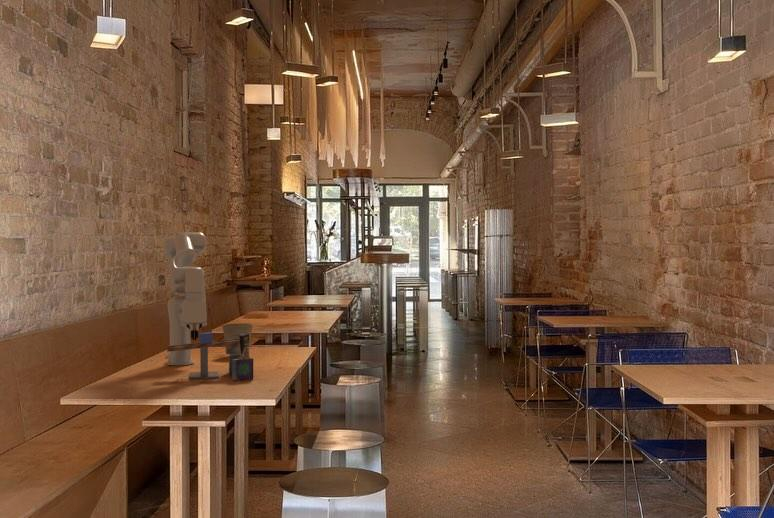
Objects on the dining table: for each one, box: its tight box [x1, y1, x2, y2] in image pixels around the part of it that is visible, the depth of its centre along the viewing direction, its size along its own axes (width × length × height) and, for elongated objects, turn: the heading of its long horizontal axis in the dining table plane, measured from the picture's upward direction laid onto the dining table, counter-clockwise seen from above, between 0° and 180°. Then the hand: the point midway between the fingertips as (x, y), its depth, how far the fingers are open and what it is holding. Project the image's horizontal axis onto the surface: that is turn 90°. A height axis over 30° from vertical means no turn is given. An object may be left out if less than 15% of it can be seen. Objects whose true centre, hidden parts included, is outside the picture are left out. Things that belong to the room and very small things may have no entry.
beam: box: [167, 339, 241, 355], centre depth 358 cm, size 30×8×6 cm, turn 103°
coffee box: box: [228, 334, 250, 359], centre depth 376 cm, size 9×6×16 cm
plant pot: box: [222, 323, 253, 343], centre depth 423 cm, size 15×15×16 cm
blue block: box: [199, 331, 213, 344], centre depth 358 cm, size 5×4×5 cm
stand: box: [189, 346, 236, 381], centre depth 359 cm, size 20×14×14 cm
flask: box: [231, 354, 254, 382], centre depth 350 cm, size 9×3×11 cm, turn 121°
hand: (194, 339), depth 357 cm, fingers closed
